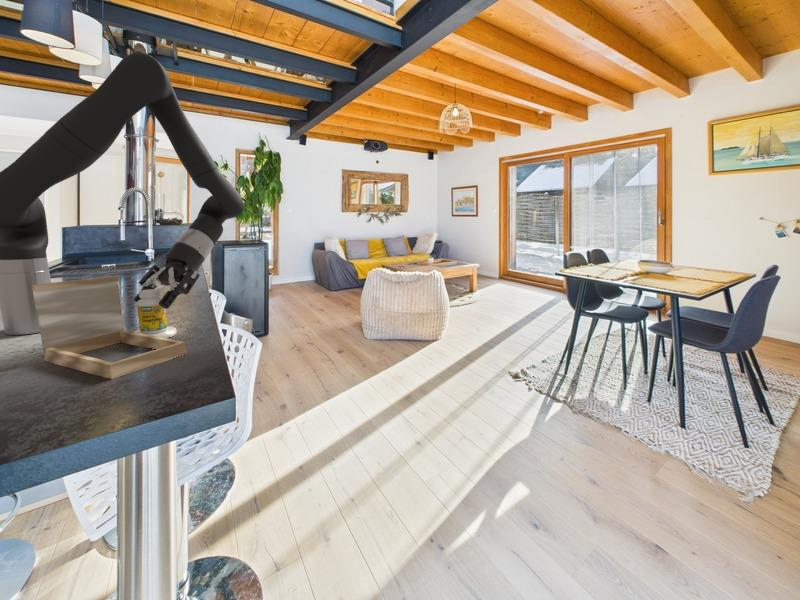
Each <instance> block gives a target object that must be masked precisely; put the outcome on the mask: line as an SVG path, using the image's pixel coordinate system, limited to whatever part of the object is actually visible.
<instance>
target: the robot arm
mask: <svg viewBox="0 0 800 600" xmlns="http://www.w3.org/2000/svg"><path fill="white" fill-rule="evenodd" d="M176 94H177V93H176V92H175V90H174V88H173V85H172V81H171V77H170V75H169V73H168V72H167V70H166V69H165V67H164V66H163V64H161V62H160V61H159V60H157V59H156V58H155V57H153V56H151V55H149V54H147V53H143V52H132V53H129V54H127V55H125V57H123V58H122V59H121V60H120V61H119V62H118V64H117V65H116V66H115V68H113V70H112V71H111V73H109V75H108V76H107V77H106V79H105V80H104V81H103V82H102V83H101V84H100V86H99V87H98V88H97V89H96V90H94V92H92V93H91V94H90V95H88V96H86V97H85V98H84V99H83V100H81V101H80V102H79V103H77V104H76V105H75V106H74V107H73V108H71V109H70V110H69V111H68V112H67V113H65V114H64V115H63V116H62V117H60V118H59V119H58V120H57V121H56V122H55V123H54V124H53V125H52V126H51V127H49V128H48V130H46V131H45V132H44V133H43V135H41V136H40V137H39V138H38V139H37V140H36V141H35V142H34V143H33V144H31V146H30V147H28V148H27V149H26V150H25V151H24V152H23V153H22V154H21V155H20V156H19V157H18V158H17V159H15V160H14V161H13V162H12V163H11V164H9V165H8V166H7V167H5V168H4V169H3V170H1V171H0V316H1V320H2V321H1V322H2V326H3V327H2V328H3V332H4V334H5V335H10V336H12V335H13V336H14V335H15V336H20V335H21V336H22V335H30V334H32V335H33V334H37V333H38V334H39V333H40V329H39V323H38V318H37V312H36V306H35V301H34V295H33V291H32V286H31V285H38V284H47V283H52V278H51V274H50V268H49V267H50V266H49V263H48V257H47V256H48V255H47V248H48V245H49V233H48V223H47V214H46V209H45V207H44V204H43V201H42V200H41V198H40V196H41V195H43V193H45V192H46V191H48V190H49V189H51V188H52V187H54V186H55V185H57V184H60V183H61V182H63V181H65V180H68V179H70V178H72V177H74V176H76V175H78V174H80V173H82V172H84V171H85V170H87V169H88V168H89V167H90V166H93V164H94V163H95V162H97V161H98V160H99V159H100V158H101V157H102V156H103V155H104V154H105V153H106V152H107V151H108V150H109V149H110V148H111V146H113V144H114V142H115V141H116V139H117V138H118V136H119V135H120V133H121V131H122V130H123V128H124V127H125V125H126V124H127V123H128V122H129V120H131V118H133V116H135V115H136V114H137V113H139V112H140V111H141V110H142V109H144V108H145V107H147V108H148V109H149V111H150V112H151V113H152V114H153V116H154V117H155V118H156V120H157V121H158V123H159V124H160V126H161V127H162V129H163V131H164V133H165V134H166V136H167V138H168V140H169V143H170V144H171V146H172V147H173V149H174V152H175V153H176V155H177V157H178V160H179V161H180V162H181V164H182V165H183V168H184V169H185V171H186V172H187V174H188V175H189V177H190V179H191V180H192V182H193V183H194V184H195V185H196V186H197V188H201V189H206V190H207V191H208V192H209V193H210V194H211V196H209V197H208V198H207V199H206V200H205V201H204V202H203V203H202V205H201V208H200V210H199V211H198V214H197V217H196V218H195V219H194V220H193V221H192V223H191V224H190V226H189V227H188V228H187V229H186V230H185V231H184V232H183V233H182V234H181V235H180V236H179V237H178V239H177V240H176V241H175V242H174V244H173V245H172V246H171V247H170V249H169V250H168V251H167V253H166V254H165V255H164V259H165V264H164V265H163V266H161V267H159V266H158V264H154V265H152V266H151V267H150V269H149V270H148V271H147V272H146V273H145V274H144V276H143V277H142V278H140V281H138V284H139V285H140V286H141V287H142V288H141V289H140V291H141V290H148V289H158V290H159V289H163V288H165V287H166V286H167V287H168V286H169V290H167V291H166V293H165V294H164V295H163V296H162V298H161V301H160V302H159V305H160V306H162V307H163V308H165V310H168V309H169V308H171V306H172V304H173V303H174V302H175V300H176V299H177V298H178V297H180V296H182V295H183V294H184V295H188V294H189V293H190V291H191V290H192V288H193V287H194V285H195V284H196V282H197V280H198V279H199V278H200V274H199V272H198V271H199V269H200V267H201V266H202V264H204V262H205V261H206V259H207V258H208V257H209V255H210V254H211V251H212V250H213V248H214V246H215V245H216V244H217V242H218V241H219V239H220V238H221V236H222V235H223V232H224V227H223V224H224V223H225V222H226V221H227V220H229V219H234V218H237V217H239V216H241V215H242V214H243V213H244V210H245V205H244V204H245V203H244V200H243V197H242V195H241V194H240V192H239V191H238V190H237V189H236V188H235V186H233V184H232V183H231V182H230V181H229V180H228V179H227V178H226V177H225V176H224V175H223V174H222V172H221V171H220V169H219V168H218V166H217V164H216V162H215V160H214V159H213V158H212V155H211V154H210V152H209V151H208V149H207V148H206V146H205V144H204V143H203V141H202V140H201V139H200V137H199V136H198V134H197V133H196V131H195V129H194V128H193V126H192V125H191V123H190V121H189V119H188V118H187V116H186V114H185V113H184V111H183V109H182V108H183V107H182V106H181V104H180V101H179V99H178V97H177V95H176ZM185 285H187V286H186V287H185ZM139 300H141V298H140V297H139V292H138V293H137V295H135V297H134V298H133V301H134V302H135V303H136V304H137V302H138V301H139Z"/></svg>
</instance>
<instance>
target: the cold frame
mask: <svg viewBox="0 0 800 600" xmlns="http://www.w3.org/2000/svg"><path fill="white" fill-rule="evenodd" d="M31 286H32V291H33V295H34V301H35V306H36V312H37V318H38V323H39V329H40V332H39V334H40V340H41V343H42V345H41V346H42V354H43V358H44V362H47V363H51V364H53V365H59V366H61V367H66V368H69V369H73V370H76V371H80V372H83V373H87V374H90V375H94V376H98V377H103V378H105V379H109V380H115V379H118V378H121V377H123V376H126V375H129V374H132V373H135V372H138V371H142V370H144V369H147V368H150V367H153V366H156V365H159V364H162V363H164V362H167V361H171V360H173V358H174V359H177V358H179V357H182V356H185V355H187V354H188V350H187V342H186V341H181V340H176V339H172V338H169V339H167V338H162V337H156V336H151V335H146V334H141V333H136V332H133V331H129V330H125V328H124V319H123V313H122V305H121V296H120V289H119V278H118V276H116V275H115V276H105V277H104V276H103V277H95V278H93V277H92V278H85V279H77V280H68V281H58V282H56V281H55V282H51V283H47V284H38V285H31ZM120 342H122V343H123V344H125V345H126V344H127V345H131V346H135V347H136V346H137V347H140V348H146V349H150V348H152V349H151V350H150V351H147V352H143V353H140V354H136V355H133V356H130V357H127V358H122V359H119V360H118V361H114V362H112V361H108V360H104V359H99V358H96V357H92V356H88V355H84V354H83V353H86V352H90V351H94V350H98V349H102V348H105V346H106V347H109V345H110V346H113V344H114V345H116V343H117V344H120ZM154 349H156V350H154ZM184 354H185V355H184ZM181 355H182V356H181ZM178 356H179V357H178ZM176 357H177V358H176Z"/></svg>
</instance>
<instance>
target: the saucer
mask: <svg viewBox="0 0 800 600" xmlns="http://www.w3.org/2000/svg"><path fill="white" fill-rule="evenodd" d="M167 327H168V328H167V330H166V331H164V332H160V333H156V334H146V335H151V336H156V337H162V338H168V337H172V336H174V335H175V334H176V333H177V328H176V327H174V326H171V325H170V326H168V325H167ZM132 332H136V333H141V332H140V328H139V329H136V330H133V331H132ZM141 334H143V333H141ZM177 334H178V333H177ZM174 337H175V336H174ZM172 338H173V337H172Z"/></svg>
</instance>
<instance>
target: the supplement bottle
mask: <svg viewBox="0 0 800 600" xmlns="http://www.w3.org/2000/svg"><path fill="white" fill-rule="evenodd" d="M138 293H139V297H140V298H141V300H139V301H138V302H137V303H136V310H137V319H138V326H139V329H140V332H141V333H143V334H156V333H160V332H164V331H166V330H167V328H168V327H167V326H168V319H167V312H166V311H167V309H165V308H163V307H162V306H160V305H159V302H160V301H161V299H162V298H161V297H160V296H161V291H160V289H159V288H158V289H148V290H141V289H140V290H139V291H138Z"/></svg>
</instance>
